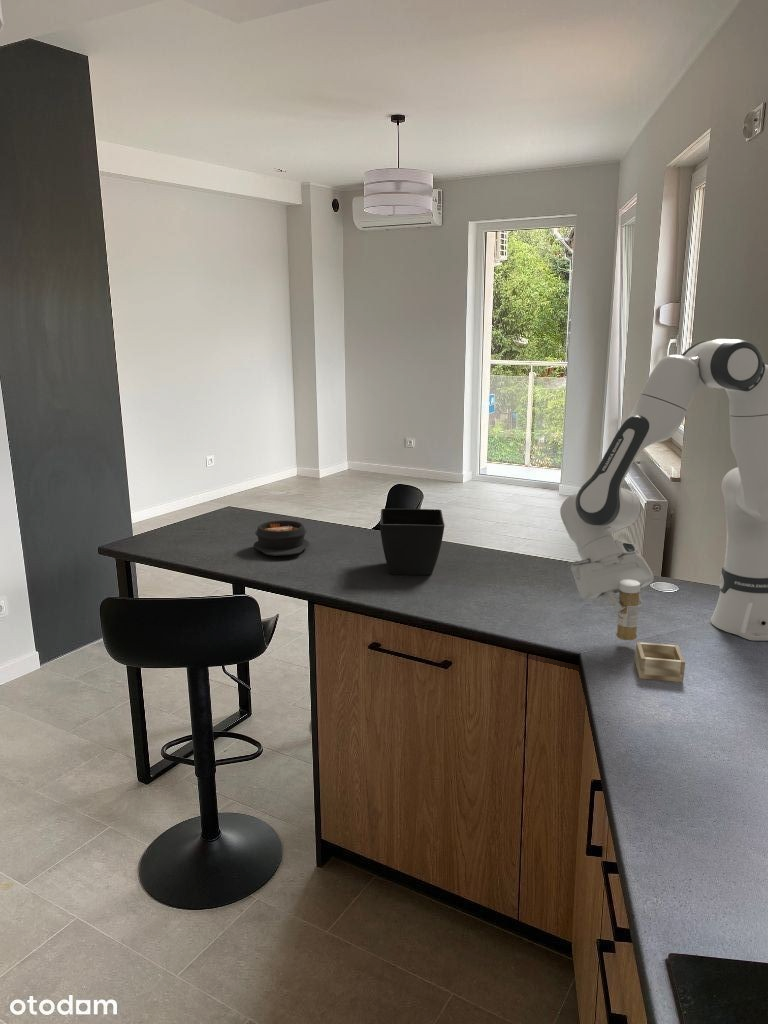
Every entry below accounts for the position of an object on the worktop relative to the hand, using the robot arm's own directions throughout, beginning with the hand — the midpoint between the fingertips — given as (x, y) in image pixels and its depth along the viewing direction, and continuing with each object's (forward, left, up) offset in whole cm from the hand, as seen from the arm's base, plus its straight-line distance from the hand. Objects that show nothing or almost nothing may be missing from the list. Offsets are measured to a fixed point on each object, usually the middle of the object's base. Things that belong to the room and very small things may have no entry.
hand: (630, 608), depth 165 cm
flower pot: (+59, -46, -10) cm, 76 cm away
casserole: (+105, -57, -10) cm, 120 cm away
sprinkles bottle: (0, -1, -8) cm, 8 cm away
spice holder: (-5, +12, -10) cm, 16 cm away
